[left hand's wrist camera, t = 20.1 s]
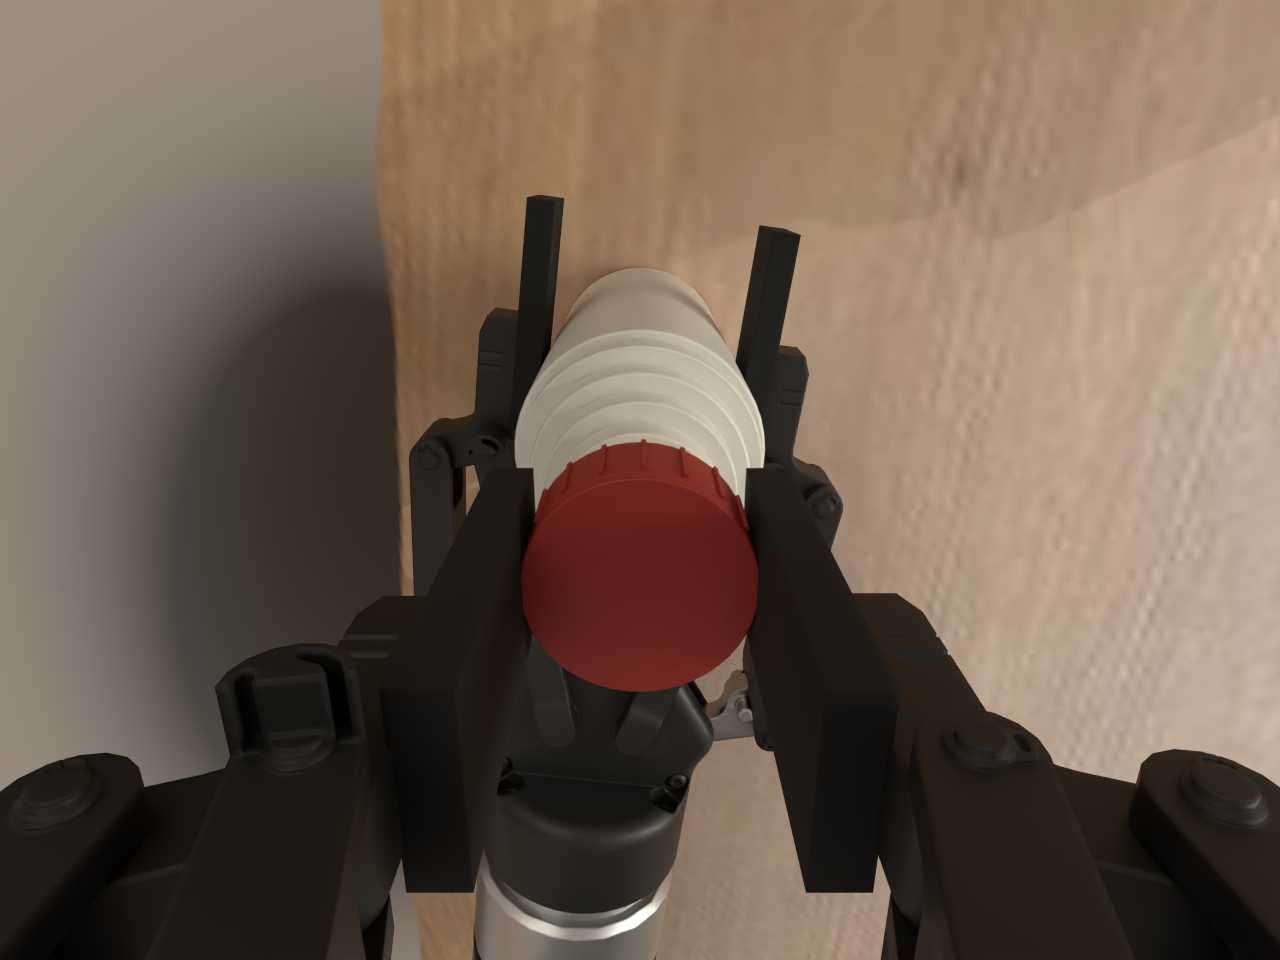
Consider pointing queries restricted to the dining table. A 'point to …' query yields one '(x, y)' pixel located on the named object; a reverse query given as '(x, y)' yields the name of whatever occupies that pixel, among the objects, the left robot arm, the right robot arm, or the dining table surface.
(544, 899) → the right robot arm
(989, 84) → the dining table surface
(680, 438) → the bottle
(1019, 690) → the dining table surface
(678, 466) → the cap
